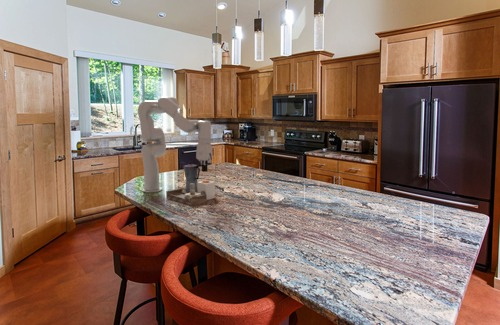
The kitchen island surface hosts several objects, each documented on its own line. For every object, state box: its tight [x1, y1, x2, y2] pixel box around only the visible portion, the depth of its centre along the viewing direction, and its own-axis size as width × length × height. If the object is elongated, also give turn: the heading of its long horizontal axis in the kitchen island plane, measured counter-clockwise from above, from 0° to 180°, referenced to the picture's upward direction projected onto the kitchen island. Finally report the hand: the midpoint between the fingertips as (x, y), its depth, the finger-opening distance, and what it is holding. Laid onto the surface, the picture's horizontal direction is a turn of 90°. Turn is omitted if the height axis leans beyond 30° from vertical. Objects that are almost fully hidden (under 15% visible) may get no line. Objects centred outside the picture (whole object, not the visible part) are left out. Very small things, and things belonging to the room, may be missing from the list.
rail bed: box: [165, 187, 208, 207], centre depth 198 cm, size 24×11×4 cm, turn 49°
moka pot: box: [182, 161, 201, 193], centre depth 217 cm, size 10×15×20 cm, turn 55°
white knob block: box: [197, 180, 216, 201], centre depth 202 cm, size 8×8×10 cm
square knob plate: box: [184, 184, 201, 199], centre depth 193 cm, size 7×7×9 cm
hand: (204, 171), depth 200 cm, fingers closed
